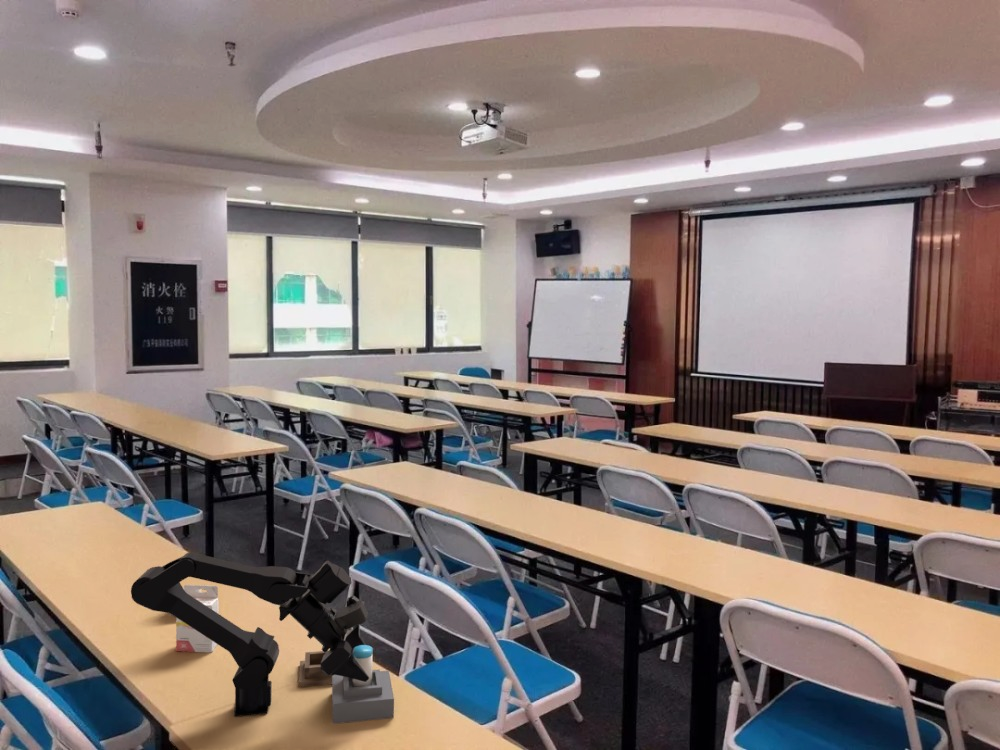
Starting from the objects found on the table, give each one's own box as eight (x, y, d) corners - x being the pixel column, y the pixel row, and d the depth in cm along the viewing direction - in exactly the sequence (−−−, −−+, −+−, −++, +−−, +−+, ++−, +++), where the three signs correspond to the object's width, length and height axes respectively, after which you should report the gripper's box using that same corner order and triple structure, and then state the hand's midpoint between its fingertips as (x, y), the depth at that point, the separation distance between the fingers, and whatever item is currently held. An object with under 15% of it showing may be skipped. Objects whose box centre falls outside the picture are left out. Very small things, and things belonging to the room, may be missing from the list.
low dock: (298, 686, 161) (298, 671, 161) (300, 665, 171) (300, 650, 170) (345, 682, 163) (345, 667, 163) (344, 661, 173) (344, 647, 173)
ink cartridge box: (175, 652, 175) (174, 591, 174) (183, 643, 180) (183, 584, 179) (212, 653, 175) (211, 592, 174) (219, 643, 180) (219, 584, 179)
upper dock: (332, 723, 147) (333, 697, 147) (331, 693, 159) (332, 668, 158) (393, 717, 150) (394, 691, 150) (388, 688, 162) (389, 663, 161)
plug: (352, 692, 152) (353, 654, 151) (352, 682, 156) (352, 645, 155) (372, 690, 153) (373, 653, 152) (371, 681, 156) (371, 644, 156)
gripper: (338, 608, 143) (395, 663, 145) (349, 574, 161) (399, 623, 163) (296, 648, 143) (353, 702, 145) (311, 609, 161) (362, 658, 163)
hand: (369, 668), depth 154 cm, fingers open, 9 cm apart
